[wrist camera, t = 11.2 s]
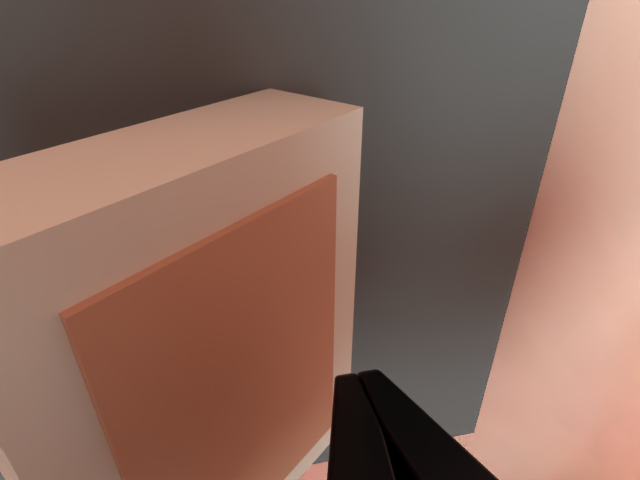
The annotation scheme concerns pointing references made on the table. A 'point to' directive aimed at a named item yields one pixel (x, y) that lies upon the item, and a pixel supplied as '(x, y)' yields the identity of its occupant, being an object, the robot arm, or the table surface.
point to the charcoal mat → (377, 138)
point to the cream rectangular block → (180, 294)
